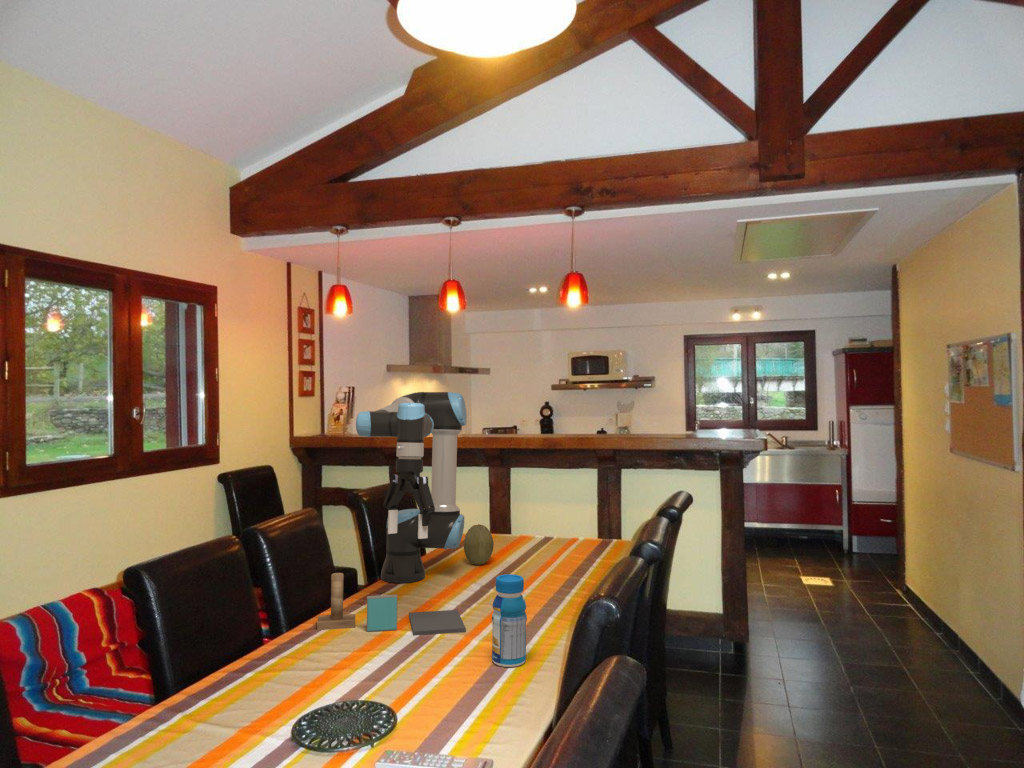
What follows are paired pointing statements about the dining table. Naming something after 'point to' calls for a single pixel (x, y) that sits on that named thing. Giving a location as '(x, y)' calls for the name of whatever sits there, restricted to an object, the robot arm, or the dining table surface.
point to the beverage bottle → (509, 622)
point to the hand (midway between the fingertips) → (407, 535)
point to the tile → (381, 613)
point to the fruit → (478, 544)
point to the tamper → (336, 608)
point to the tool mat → (436, 622)
